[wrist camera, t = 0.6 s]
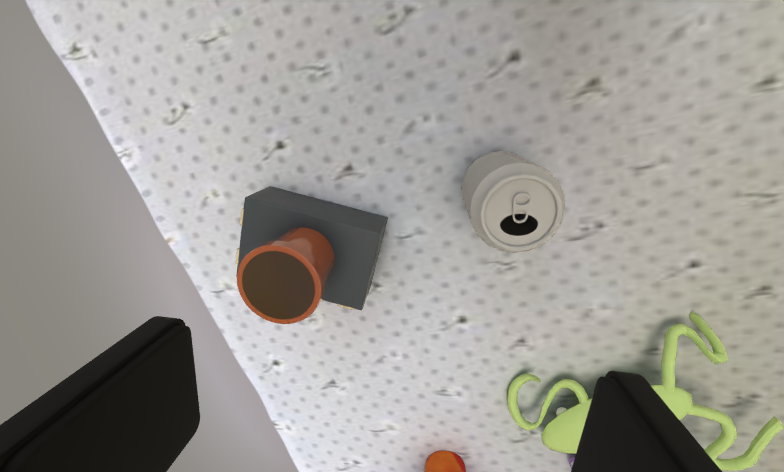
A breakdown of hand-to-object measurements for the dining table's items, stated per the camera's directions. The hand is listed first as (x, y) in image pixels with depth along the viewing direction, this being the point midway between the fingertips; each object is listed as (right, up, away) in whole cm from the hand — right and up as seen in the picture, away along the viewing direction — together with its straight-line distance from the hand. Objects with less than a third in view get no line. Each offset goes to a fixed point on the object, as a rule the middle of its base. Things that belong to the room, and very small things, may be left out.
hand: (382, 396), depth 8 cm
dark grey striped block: (-8, +3, +35) cm, 36 cm away
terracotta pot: (-9, +2, +29) cm, 31 cm away
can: (+11, +9, +31) cm, 35 cm away
